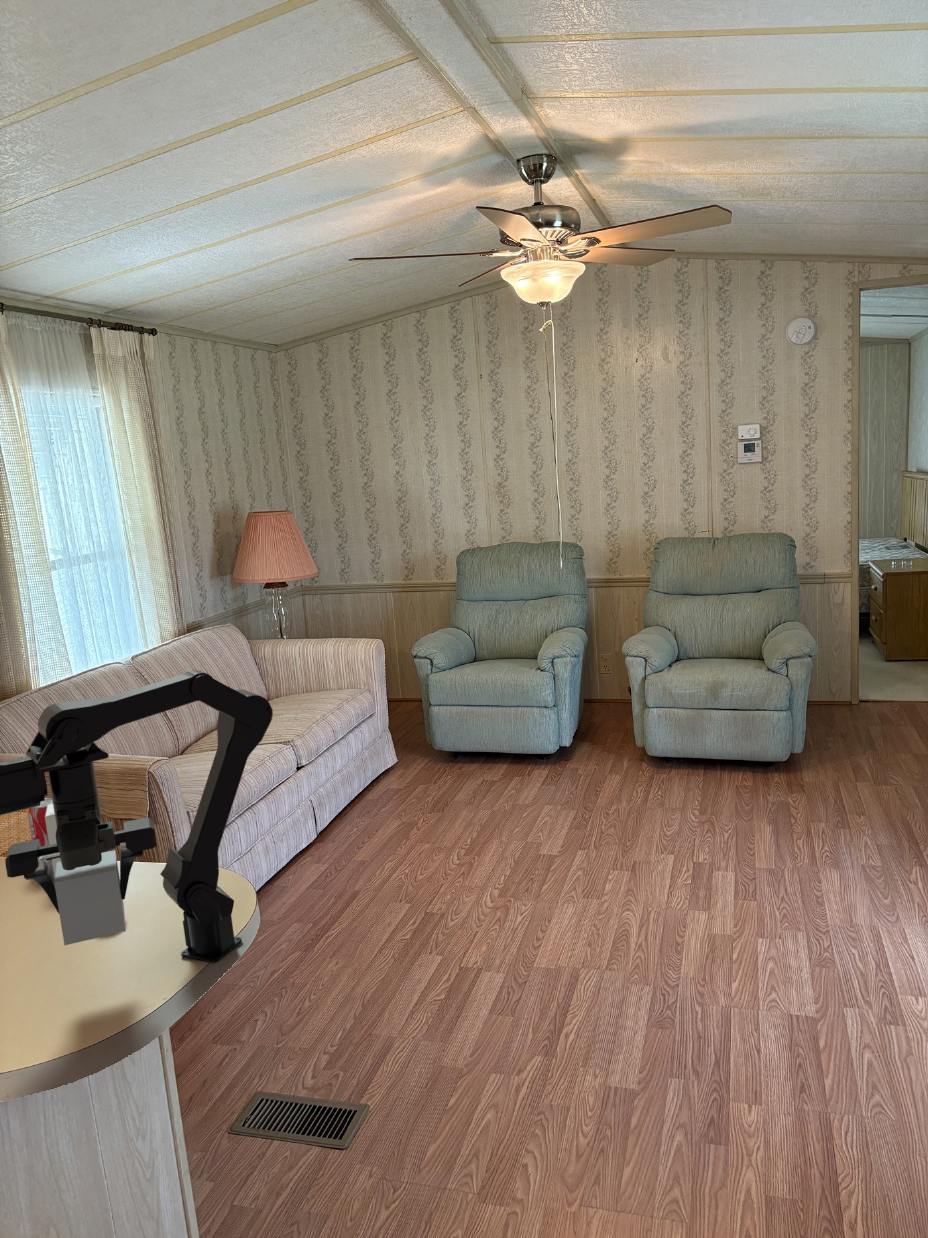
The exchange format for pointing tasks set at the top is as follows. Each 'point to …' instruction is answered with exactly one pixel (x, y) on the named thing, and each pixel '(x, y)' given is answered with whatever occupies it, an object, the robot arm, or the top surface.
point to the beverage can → (39, 822)
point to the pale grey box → (90, 900)
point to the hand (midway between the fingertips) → (92, 905)
